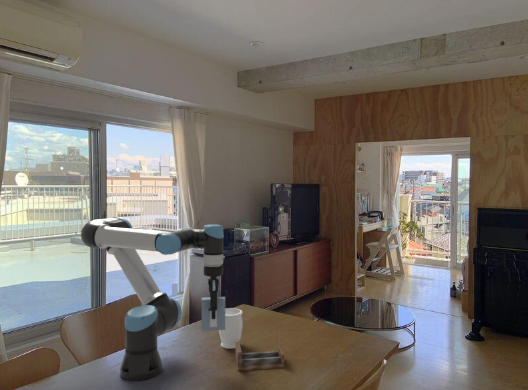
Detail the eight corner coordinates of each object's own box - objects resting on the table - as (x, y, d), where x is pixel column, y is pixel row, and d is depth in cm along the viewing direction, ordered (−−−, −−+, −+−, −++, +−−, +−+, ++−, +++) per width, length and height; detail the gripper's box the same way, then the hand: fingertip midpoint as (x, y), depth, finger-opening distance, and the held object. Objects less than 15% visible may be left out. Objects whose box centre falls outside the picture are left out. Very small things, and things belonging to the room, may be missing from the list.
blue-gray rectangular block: (201, 330, 150) (201, 299, 150) (201, 328, 153) (201, 297, 153) (225, 329, 152) (225, 298, 151) (224, 326, 155) (224, 296, 154)
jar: (213, 347, 171) (213, 312, 170) (226, 338, 180) (226, 306, 180) (234, 352, 166) (234, 316, 165) (246, 343, 175) (246, 310, 175)
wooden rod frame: (237, 370, 149) (237, 352, 149) (235, 359, 159) (235, 341, 159) (284, 367, 152) (284, 349, 152) (279, 356, 162) (279, 339, 162)
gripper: (224, 269, 144) (224, 332, 145) (222, 260, 160) (221, 317, 161) (203, 269, 143) (203, 333, 144) (203, 260, 159) (203, 318, 160)
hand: (213, 324), depth 152 cm, fingers closed on blue-gray rectangular block, 3 cm apart
